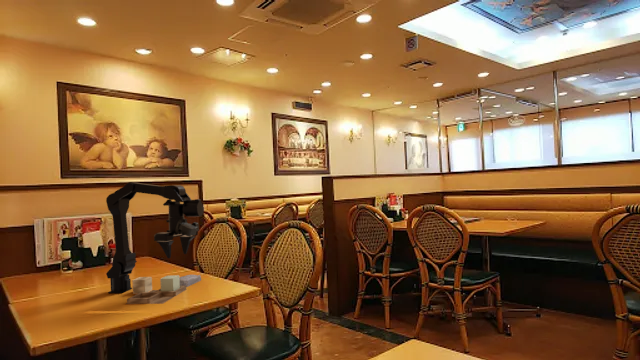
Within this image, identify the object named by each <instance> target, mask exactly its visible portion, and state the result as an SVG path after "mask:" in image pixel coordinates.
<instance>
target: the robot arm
mask: <svg viewBox="0 0 640 360" xmlns="http://www.w3.org/2000/svg"><path fill="white" fill-rule="evenodd" d="M137 193H139V194H148V195H155V196H160V197H162V198H164V199H167V200H166V201H164V203H163V204H162V205H163V206H164V207H165V206H166V207H167V206H168V219H166V220H165V221H166V223H168V229H167V230H166V232H164V231H162V232H161V231H160V232H157V233H155V234H154V235H153V238H154V239H153V240H154V241H155V242H156V244H157V243H158V245H160V248H161V249H162V251H163V252H164V254H165V256H166V258H167V259H171V256H172V244H173V243H174V242H175V241H174V238H176V237H177V238H178V237H179V239H180V243H181V244H180V245H181V248H182V252H183V255H187V254H188V251H189V247H190V244H191V242H192V240H193V239H195V238H196V236H198V234H199V233H198V231H200V226H199V225H200V224H199V222H196V221H194V222H192V223H188V219H187V218H185V216H186V217H202V216H203V214H204V211H205V210H204V208H205V207H204V205H203V203H202V200H201V199H200V198H197V199H196V198H195V199H191V197H190V196H189V195H188V193H187V191H186V188H185V186H183V185H181V184H178V185H177V184H172V185H171V184H170V185H156V184H149V183H148V184H147V183H140V182H138V181H129V182H128V183H126V184H125V185H123V186H122V187H120V188H119V189H117V190H115V191H114V192H113V193H110V194H108V195H107V197H106V199H105V203H106V206H107V209H108V212H109V213H110V214H111V216H112V224H113V234H114V245H115V247H114V248H115V252H114V255H113V257H112V263H111V264H112V265H111V267H110V269H108V271H107V272H106V273H105V274H106V277H107V279H110V290H109V291H108V292H107V293H108V294H123V293H126V292H128V291H130V290H133V287H132V286H131V282H132V280H131V278H130V275H131V274H132V273H133V270H134V268H135V267H136V263H137V262H138V261H137V258H136V256H137V254H136V252H132V251H131V249H130V244H129V233H128V232H129V231H128V221H127V213H128V211H129V208H130V201H132V199H134V197H135V196H136V195H137Z"/></svg>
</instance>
